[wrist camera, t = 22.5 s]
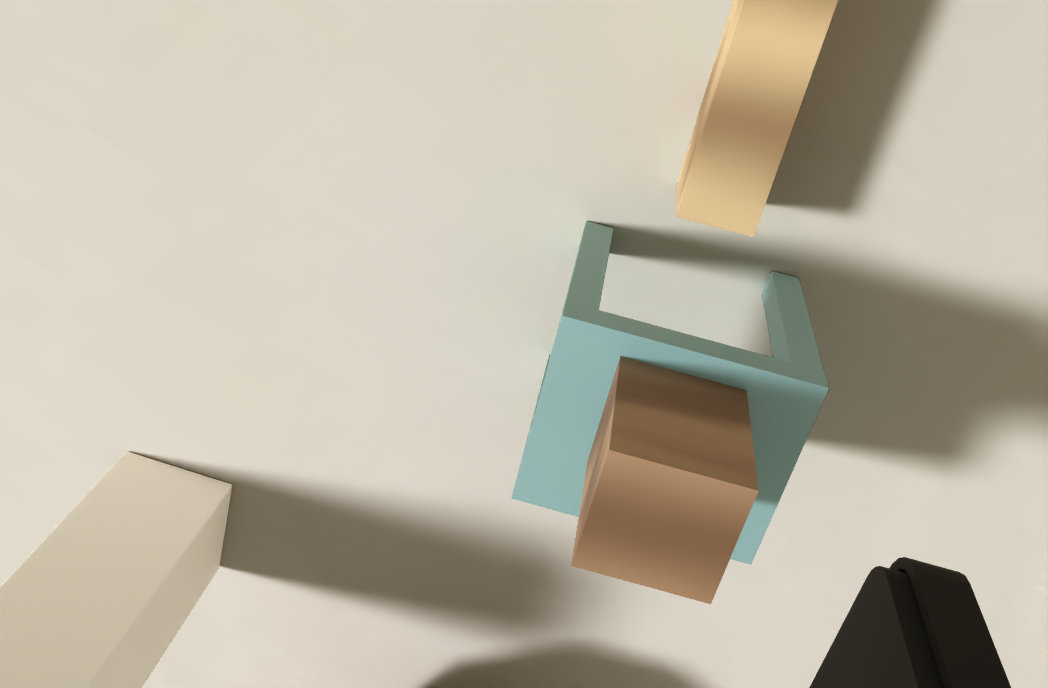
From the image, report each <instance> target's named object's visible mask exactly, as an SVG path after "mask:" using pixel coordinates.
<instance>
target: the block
mask: <svg viewBox="0 0 1048 688" xmlns="http://www.w3.org/2000/svg"><path fill="white" fill-rule="evenodd" d="M758 491H759V489H758V480H757V472H756V464H755V456H754V447H753V439H752V431H751V423H750V414H749V406H748V398H747V390H744V389H741V388H737V387H733V386H729V385H726V384H722V383H718V382H715V381H711V380H707V379H704V378H700V377H696V376H693V375H689V374H685V373H682V372H678V371H674V370H670V369H667V368H663V367H659V366H656V365H652V364H648V363H645V362H641V361H637V360H634V359H630V358H626V357H622V356H620V359H619V362H618V365H617V368H616V371H615V375H614V378H613V381H612V384H611V387H610V391H609V394H608V397H607V400H606V403H605V406H604V410H603V413H602V416H601V419H600V422H599V426H598V429H597V432H596V435H595V438H594V442H593V445H592V448H591V451H590V454H589V457H588V461H587V468H586V474H585V481H584V487H583V494H582V500H581V507H580V513H579V519H578V526H577V532H576V539H575V545H574V552H573V558H572V565H571V566H575V567H578V568H582V569H585V570H589V571H593V572H596V573H600V574H604V575H607V576H611V577H614V578H618V579H622V580H625V581H629V582H632V583H636V584H640V585H643V586H647V587H651V588H654V589H658V590H661V591H665V592H669V593H672V594H676V595H679V596H683V597H687V598H690V599H694V600H698V601H701V602H705V603H708V604H711V602H712V600H713V598H714V595H715V593H716V590H717V588H718V586H719V583H720V581H721V579H722V576H723V574H724V572H725V569H726V567H727V565H728V562H729V560H730V557H731V555H732V553H733V550H734V548H735V546H736V543H737V541H738V539H739V536H740V534H741V532H742V529H743V527H744V524H745V522H746V520H747V517H748V515H749V513H750V510H751V508H752V506H753V503H754V501H755V499H756V496H757V494H758Z"/></svg>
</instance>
